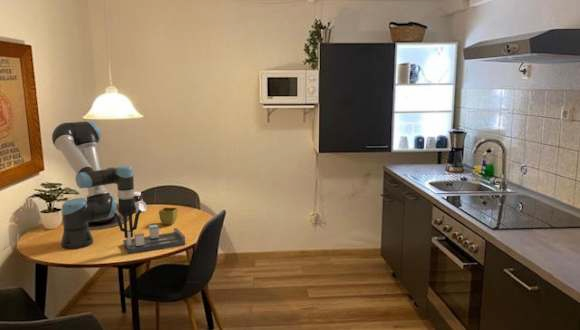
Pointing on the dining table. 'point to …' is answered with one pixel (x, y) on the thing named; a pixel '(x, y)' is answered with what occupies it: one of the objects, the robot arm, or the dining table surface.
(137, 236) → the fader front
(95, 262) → the dining table surface
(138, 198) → the spread jar
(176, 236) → the grey tray
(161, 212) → the flower pot
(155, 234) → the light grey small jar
